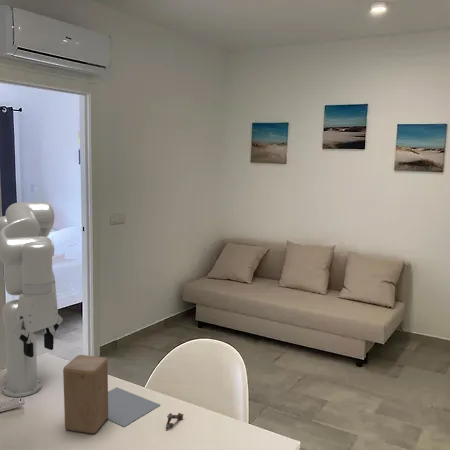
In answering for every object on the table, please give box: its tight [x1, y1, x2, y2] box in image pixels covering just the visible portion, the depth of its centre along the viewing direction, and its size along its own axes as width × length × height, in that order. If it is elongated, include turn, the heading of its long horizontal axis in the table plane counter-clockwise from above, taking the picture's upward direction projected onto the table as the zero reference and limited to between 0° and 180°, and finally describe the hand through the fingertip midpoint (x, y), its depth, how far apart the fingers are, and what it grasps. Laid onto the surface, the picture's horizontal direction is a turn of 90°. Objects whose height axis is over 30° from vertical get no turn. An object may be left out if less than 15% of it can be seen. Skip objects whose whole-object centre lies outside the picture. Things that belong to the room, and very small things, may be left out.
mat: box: [106, 387, 161, 428], centre depth 163 cm, size 20×16×1 cm
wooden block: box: [62, 354, 109, 434], centre depth 150 cm, size 10×10×20 cm
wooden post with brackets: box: [165, 412, 184, 430], centre depth 153 cm, size 2×8×4 cm, turn 153°
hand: (39, 351), depth 136 cm, fingers open, 5 cm apart
